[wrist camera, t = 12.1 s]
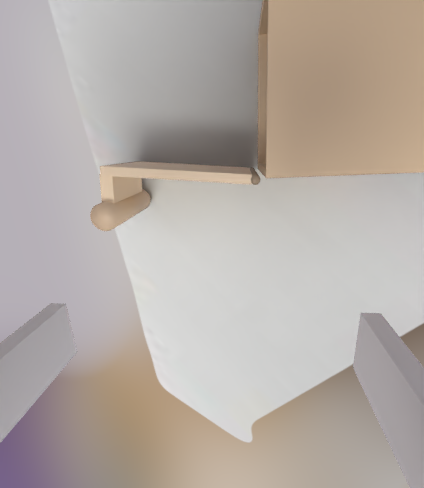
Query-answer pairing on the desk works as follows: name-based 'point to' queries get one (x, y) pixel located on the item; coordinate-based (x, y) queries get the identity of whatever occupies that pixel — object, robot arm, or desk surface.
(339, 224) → the desk surface
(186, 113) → the desk surface
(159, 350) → the desk surface
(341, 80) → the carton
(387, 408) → the robot arm
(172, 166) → the flap
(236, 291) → the desk surface
